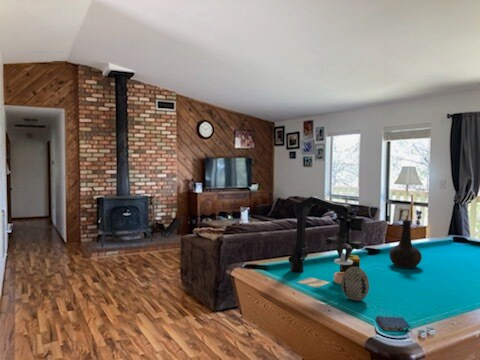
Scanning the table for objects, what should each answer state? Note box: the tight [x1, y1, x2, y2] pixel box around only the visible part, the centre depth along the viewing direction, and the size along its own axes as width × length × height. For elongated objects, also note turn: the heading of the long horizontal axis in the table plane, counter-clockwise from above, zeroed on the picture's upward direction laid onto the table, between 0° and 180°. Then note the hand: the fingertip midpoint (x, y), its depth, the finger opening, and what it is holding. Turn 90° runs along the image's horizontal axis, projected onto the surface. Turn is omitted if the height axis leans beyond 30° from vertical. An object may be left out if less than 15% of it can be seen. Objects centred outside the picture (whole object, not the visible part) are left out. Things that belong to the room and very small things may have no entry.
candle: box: [339, 254, 361, 272], centre depth 208 cm, size 10×10×10 cm
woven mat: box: [375, 315, 412, 331], centre depth 142 cm, size 10×11×2 cm
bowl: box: [333, 271, 345, 285], centre depth 192 cm, size 9×9×4 cm
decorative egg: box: [341, 266, 370, 302], centre depth 168 cm, size 12×12×15 cm
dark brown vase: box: [389, 219, 423, 269], centre depth 227 cm, size 18×18×28 cm
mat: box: [297, 277, 331, 289], centre depth 191 cm, size 12×12×1 cm
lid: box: [334, 252, 353, 265], centre depth 191 cm, size 9×9×4 cm
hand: (343, 260), depth 191 cm, fingers closed on lid, 3 cm apart
